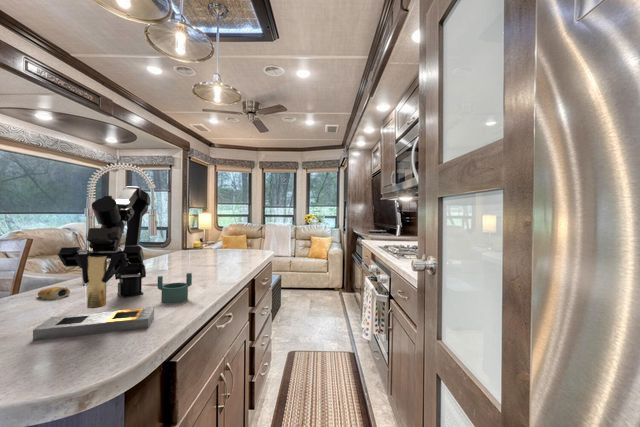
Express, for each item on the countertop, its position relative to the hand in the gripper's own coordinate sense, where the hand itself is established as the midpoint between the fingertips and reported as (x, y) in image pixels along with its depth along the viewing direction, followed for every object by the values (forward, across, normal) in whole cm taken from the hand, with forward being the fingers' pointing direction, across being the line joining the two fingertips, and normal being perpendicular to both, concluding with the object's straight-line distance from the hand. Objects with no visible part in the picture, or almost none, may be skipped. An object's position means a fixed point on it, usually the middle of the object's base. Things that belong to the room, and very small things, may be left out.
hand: (95, 282), depth 76 cm
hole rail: (+8, +1, +10) cm, 13 cm away
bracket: (-7, +16, +25) cm, 31 cm away
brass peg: (+4, 0, +6) cm, 7 cm away
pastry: (-18, -24, +36) cm, 47 cm away
